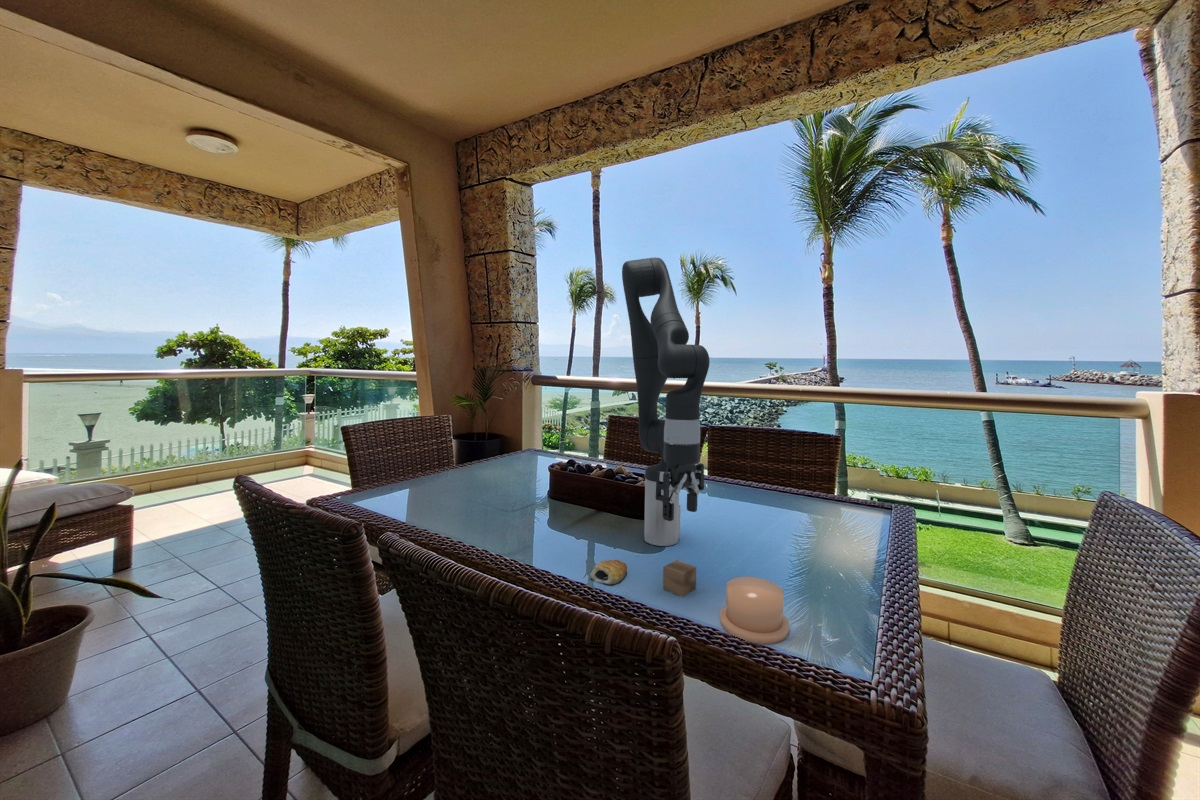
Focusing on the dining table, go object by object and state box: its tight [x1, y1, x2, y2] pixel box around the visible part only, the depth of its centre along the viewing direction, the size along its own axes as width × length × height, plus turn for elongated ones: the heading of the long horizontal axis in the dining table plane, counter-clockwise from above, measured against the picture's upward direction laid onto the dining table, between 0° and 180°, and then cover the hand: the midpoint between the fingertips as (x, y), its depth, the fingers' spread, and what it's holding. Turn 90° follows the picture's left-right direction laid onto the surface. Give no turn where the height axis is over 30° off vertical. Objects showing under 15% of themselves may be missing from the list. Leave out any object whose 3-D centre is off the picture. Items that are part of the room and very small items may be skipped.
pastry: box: [589, 559, 628, 585], centre depth 107 cm, size 9×7×4 cm
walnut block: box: [662, 559, 697, 598], centre depth 101 cm, size 5×5×5 cm
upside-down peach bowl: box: [719, 576, 790, 645], centre depth 87 cm, size 12×12×7 cm
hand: (680, 515), depth 100 cm, fingers open, 8 cm apart
